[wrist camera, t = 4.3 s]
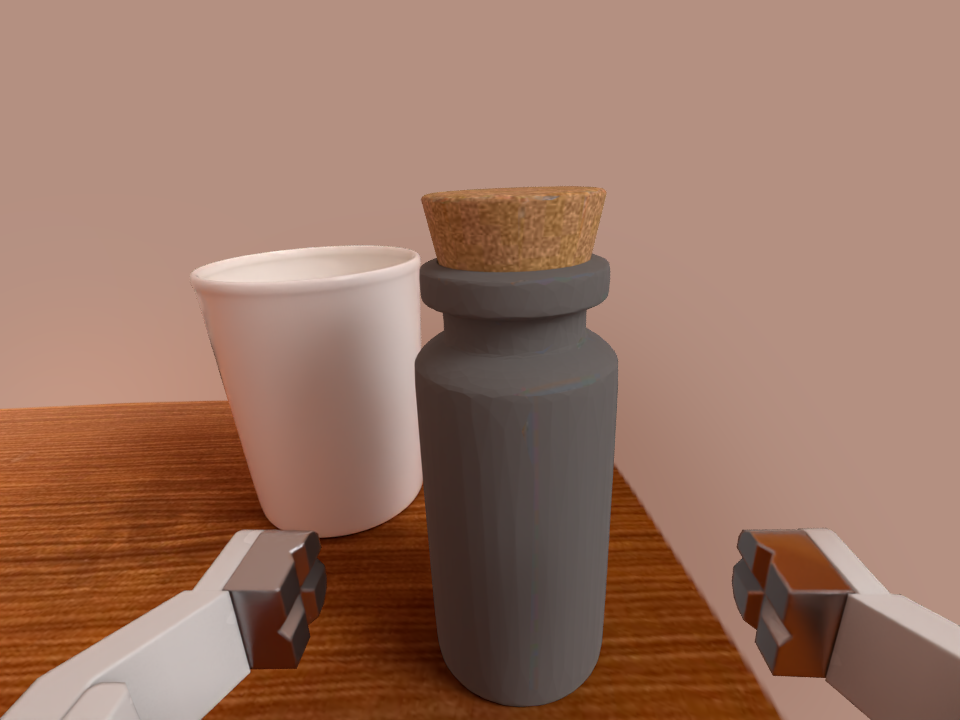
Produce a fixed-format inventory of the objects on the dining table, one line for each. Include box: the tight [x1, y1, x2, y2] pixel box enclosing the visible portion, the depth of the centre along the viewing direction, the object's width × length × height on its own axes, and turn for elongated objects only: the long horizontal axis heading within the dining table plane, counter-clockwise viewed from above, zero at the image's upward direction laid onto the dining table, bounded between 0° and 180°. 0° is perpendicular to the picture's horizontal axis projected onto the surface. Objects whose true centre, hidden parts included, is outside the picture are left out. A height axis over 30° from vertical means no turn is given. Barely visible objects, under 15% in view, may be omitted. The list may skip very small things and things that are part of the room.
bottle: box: [415, 186, 618, 707], centre depth 16 cm, size 6×6×15 cm
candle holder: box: [189, 246, 423, 538], centre depth 25 cm, size 10×10×12 cm
